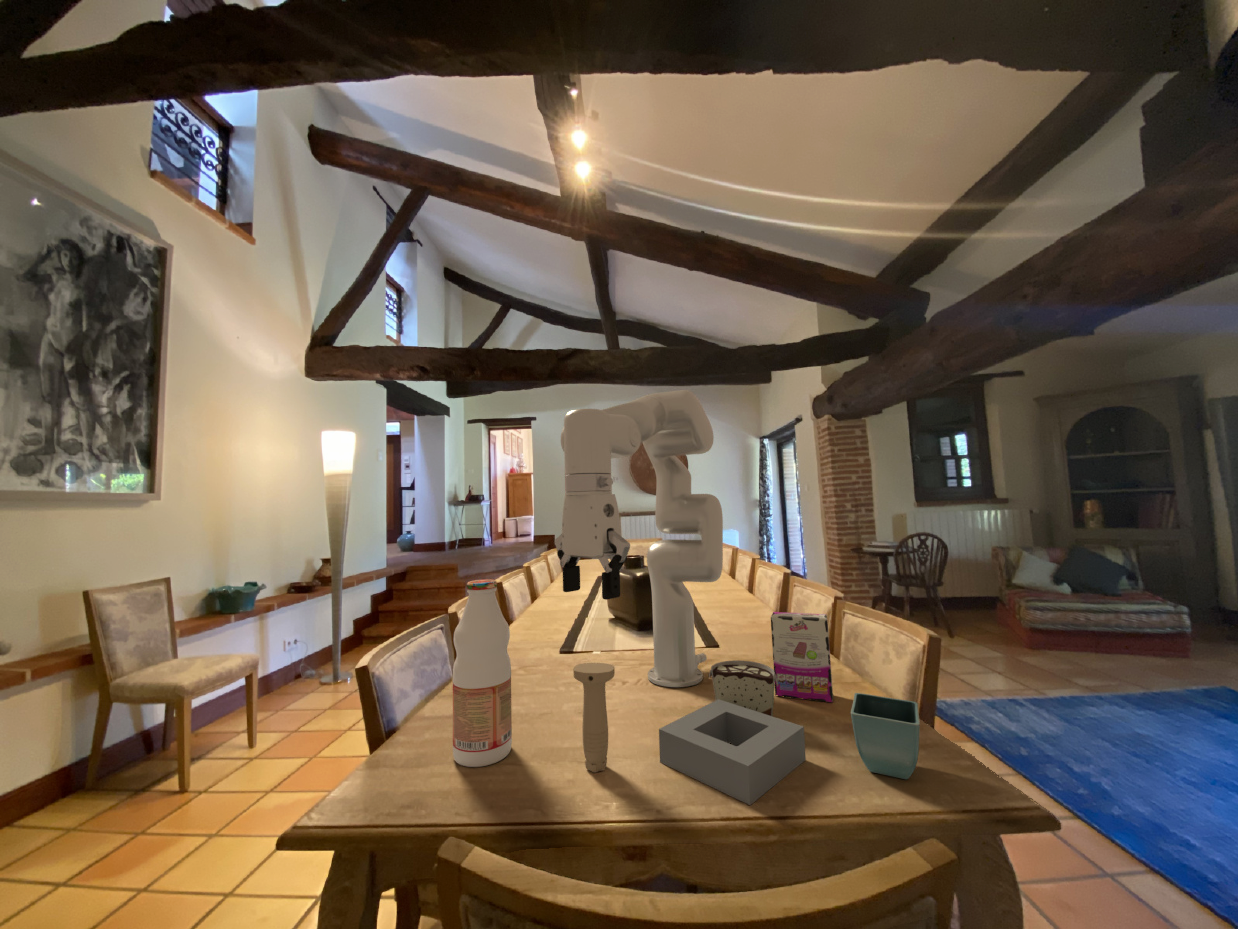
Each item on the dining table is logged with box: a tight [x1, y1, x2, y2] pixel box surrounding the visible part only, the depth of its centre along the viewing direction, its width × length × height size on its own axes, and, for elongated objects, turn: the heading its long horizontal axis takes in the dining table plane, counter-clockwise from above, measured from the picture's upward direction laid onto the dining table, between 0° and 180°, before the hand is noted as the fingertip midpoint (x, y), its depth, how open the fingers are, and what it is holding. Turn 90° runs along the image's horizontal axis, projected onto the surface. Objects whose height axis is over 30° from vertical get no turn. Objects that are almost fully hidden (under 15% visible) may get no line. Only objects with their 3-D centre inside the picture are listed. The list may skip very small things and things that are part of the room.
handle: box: [572, 662, 615, 773], centre depth 77 cm, size 5×6×15 cm
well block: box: [658, 699, 807, 806], centre depth 77 cm, size 16×16×5 cm
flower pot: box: [850, 692, 921, 780], centre depth 74 cm, size 9×9×9 cm
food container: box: [708, 659, 778, 717], centre depth 91 cm, size 12×6×10 cm, turn 65°
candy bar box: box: [770, 611, 834, 703], centre depth 102 cm, size 11×5×16 cm, turn 68°
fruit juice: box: [452, 578, 513, 768], centre depth 82 cm, size 9×9×28 cm
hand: (590, 594), depth 78 cm, fingers open, 9 cm apart
